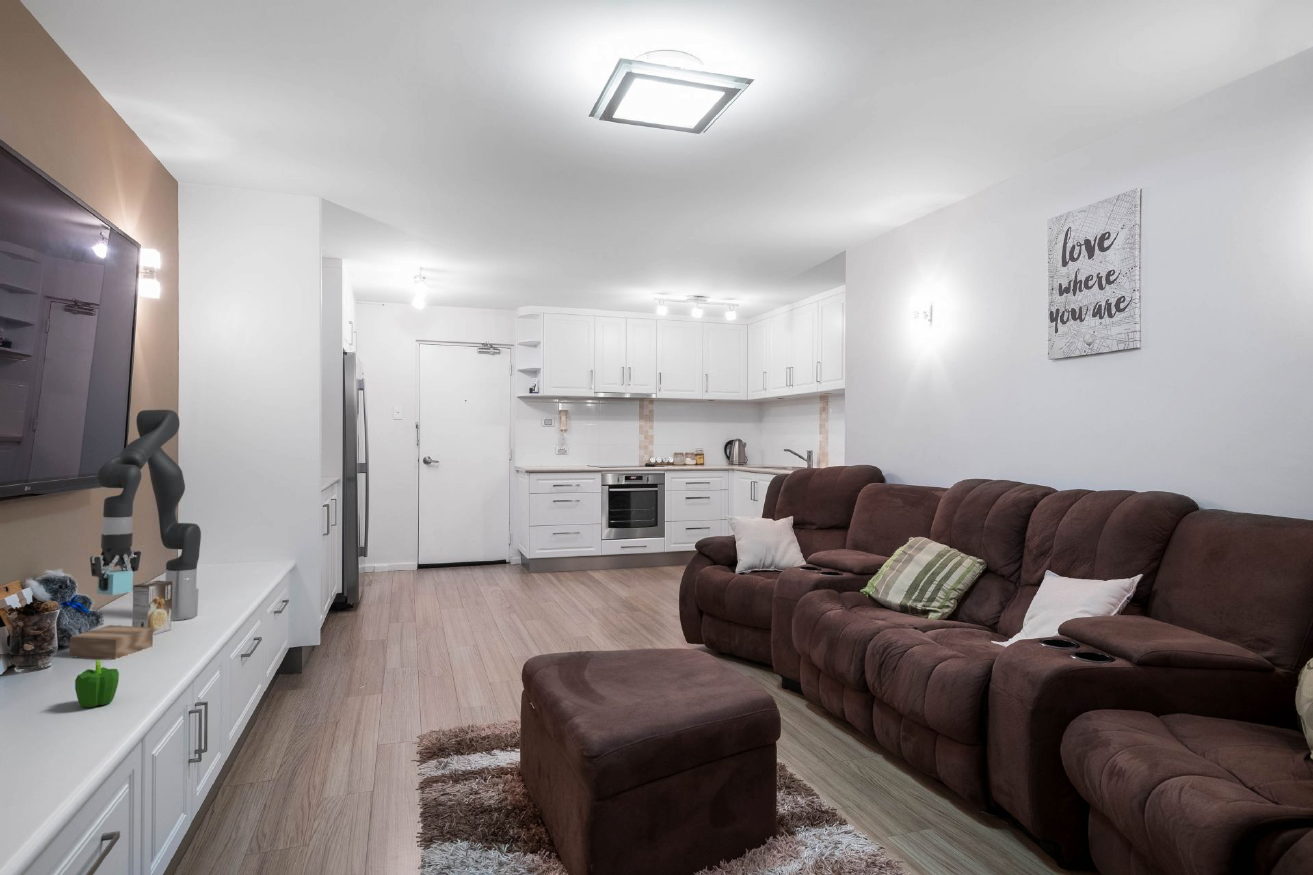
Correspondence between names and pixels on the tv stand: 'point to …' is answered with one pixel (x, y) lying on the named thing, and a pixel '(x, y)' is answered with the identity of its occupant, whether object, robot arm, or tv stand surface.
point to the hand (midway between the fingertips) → (114, 588)
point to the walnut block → (111, 642)
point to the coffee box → (153, 605)
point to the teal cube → (118, 582)
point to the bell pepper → (96, 686)
